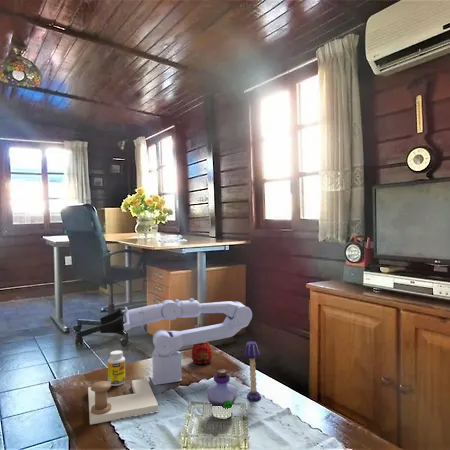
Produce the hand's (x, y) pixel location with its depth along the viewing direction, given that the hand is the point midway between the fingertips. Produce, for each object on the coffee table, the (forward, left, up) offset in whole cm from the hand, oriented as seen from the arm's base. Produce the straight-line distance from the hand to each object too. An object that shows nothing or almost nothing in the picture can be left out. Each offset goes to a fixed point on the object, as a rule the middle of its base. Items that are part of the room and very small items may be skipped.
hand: (100, 325), depth 124 cm
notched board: (-5, +14, -20) cm, 25 cm away
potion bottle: (-30, +32, -20) cm, 48 cm away
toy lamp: (-42, +26, -20) cm, 53 cm away
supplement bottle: (-5, -1, -20) cm, 21 cm away
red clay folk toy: (-37, -9, -20) cm, 43 cm away
